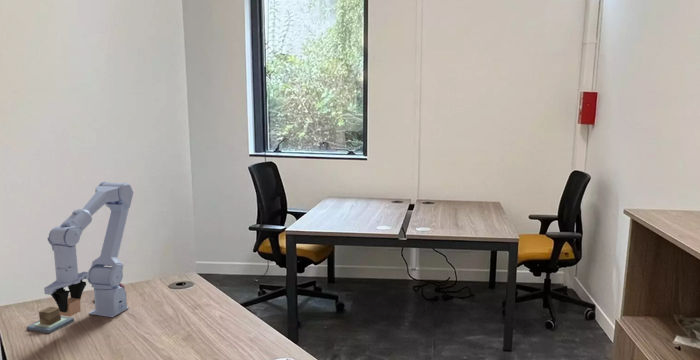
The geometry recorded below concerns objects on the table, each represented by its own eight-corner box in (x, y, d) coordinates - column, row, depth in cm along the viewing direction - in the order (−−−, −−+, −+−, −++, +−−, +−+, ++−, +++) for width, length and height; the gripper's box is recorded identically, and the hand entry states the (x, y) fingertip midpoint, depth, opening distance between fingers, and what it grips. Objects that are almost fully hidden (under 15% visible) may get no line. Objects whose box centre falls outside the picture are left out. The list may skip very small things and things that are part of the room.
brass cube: (60, 319, 154) (59, 308, 153) (50, 325, 150) (49, 313, 149) (50, 318, 155) (49, 306, 154) (39, 323, 151) (38, 311, 150)
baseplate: (74, 321, 156) (73, 317, 155) (50, 333, 147) (49, 329, 147) (51, 317, 158) (51, 314, 158) (26, 329, 149) (26, 325, 149)
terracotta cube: (80, 311, 148) (79, 298, 148) (70, 316, 145) (69, 303, 144) (70, 309, 150) (69, 297, 149) (59, 314, 146) (58, 302, 145)
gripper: (56, 274, 137) (60, 320, 139) (95, 259, 151) (98, 300, 153) (36, 272, 139) (40, 317, 141) (77, 257, 153) (80, 298, 155)
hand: (69, 308), depth 147 cm, fingers closed on terracotta cube, 4 cm apart
